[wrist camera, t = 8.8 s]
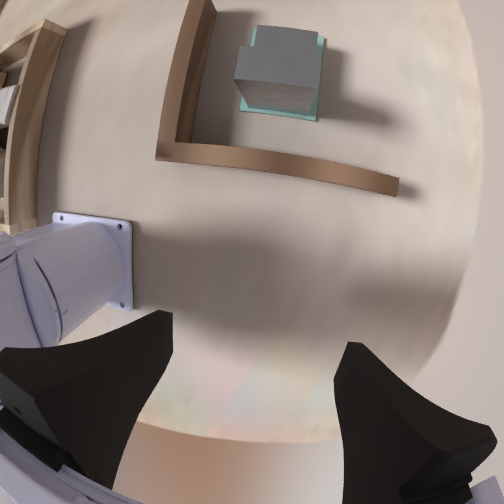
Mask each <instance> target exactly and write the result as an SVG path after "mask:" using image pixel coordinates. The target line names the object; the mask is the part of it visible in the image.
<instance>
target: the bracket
mask: <svg viewBox="0 0 504 504" xmlns="http://www.w3.org/2000/svg"><path fill="white" fill-rule="evenodd" d="M317 39H318V32H314V31H308V30H301V29H294V28H286V27H277V26H265V25H257V30H256V36H255V41H254V46H239V52H238V57H237V62H236V68H235V73H234V81H235V83H236V84H237V86H238V88H239V90H240V92H241V94H242V96H243V98H244V100H245V102H246V104H247V106H248V108H255V109H264V110H272V111H280V112H287V113H294V114H300V115H306V116H307V115H308V112H309V110H310V108H311V105H312V103H313V101H314V98H315V96H316V94H317V91H318V88H319V79H320V69H321V58H322V55H319V54H316V50H317Z"/></svg>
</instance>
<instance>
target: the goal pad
mask: <svg viewBox="0 0 504 504" xmlns="http://www.w3.org/2000/svg"><path fill="white" fill-rule="evenodd" d="M256 30H257V28H253V33H252V39H251V44H250V46H254V41H255V36H256ZM323 43H324V37H323V36H318V39H317V50H316V54H319V55H322V54H323ZM321 65H322V58H321ZM320 76H321V69H320ZM319 85H320V79H319ZM318 94H319V88H318V91H317V94H316V96H315V98H314V101H313V103H312V105H311V108H310V110H309V112H308V115H307V116H306V115H300V114H294V113H287V112H280V111H272V110H264V109H255V108H248V106H247V104H246V102H245V100H244V98H243V96H242V97H241V103H240V110H239V111H245V112H255V113H264V114H272V115H279V116H286V117H293V118H299V119H305V120H311V121H315V120H316V112H317V103H318Z"/></svg>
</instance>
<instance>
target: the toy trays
mask: <svg viewBox="0 0 504 504" xmlns="http://www.w3.org/2000/svg"><path fill="white" fill-rule="evenodd" d="M2 2H3V0H0V5H1V3H2ZM67 31H68V29H66V28H64V27H62V26H60V25H58V24H55V23H53V22H51V21H49V20H47V19H44V20H42V21H41V22H39V23H37V24H35V25H34V26H32V27H30V28H29V29H27V30H26V31H24V32H22V33H21V34H19V35H18V36H16V37H15V38H13V39H12V40H10V41H9V42H8V43H6V44H5V45H3V46H2V47H1V48H0V71H1V70H2V69H4V68H5V67H7V66H9V65H10V64H12V63H14V62H15V61H17V60H19V59H21V58H22V57H24V56H26V55H27V56H26V59H25V62H24V65H23V68H22V71H21V75H20V78H19V82H18V85H19V86H18V89H17V92H16V95H15V98H14V103H13V108H12V113H11V118H10V124H9V131H8V138H7V147H6V158H5V173H4V212H0V231H5V232H6V233H7V234H9V235H10V236H11V235H14V234H17V233H20V232H23V231H26V230H29V229H32V228H35V227H37V213H36V189H37V167H38V155H39V145H40V137H41V130H42V123H43V117H44V112H45V106H46V101H47V97H48V92H49V88H50V84H51V80H52V76H53V73H54V69H55V66H56V62H57V59H58V56H59V53H60V50H61V47H62V44H63V41H64V39H65V36H66V33H67Z"/></svg>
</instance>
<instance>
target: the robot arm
mask: <svg viewBox="0 0 504 504" xmlns="http://www.w3.org/2000/svg"><path fill="white" fill-rule="evenodd" d="M63 218H64V219H63ZM52 221H53V223H50V224H47V225H44V226H40V227H37V228H34V229H31V230H28V231H25V232H22V233H19V234H16V235H13V236H10V235H9V234H7V233H6V232H5V231H0V489H1V490H2V491H3V492H4V493H5V494H6V495H7V496H8V497H9V498H10V499H12V501H14V502H15V503H16V504H143V503H141V502H138V501H135V500H133V499H130V498H128V497H126V496H123V495H121V494H119V493H116V492H114V491H112V487H113V484H114V480H115V477H116V473H117V470H118V467H119V463H120V461H121V458H122V455H123V452H124V449H125V446H126V444H127V441H128V439H129V436H130V434H131V431H132V429H133V427H134V424H135V422H136V420H137V417H138V415H139V413H140V411H141V410H142V408H143V406H144V404H145V403H146V401H147V400H148V398H149V396H150V395H151V393H152V391H153V390H154V388H155V387H156V385H157V383H158V382H159V380H160V378H161V377H162V375H163V373H164V372H165V370H166V367H167V365H168V363H169V361H170V358H171V356H172V353H173V313H171V312H166V311H162V310H157V311H155V312H152V313H150V314H148V315H146V316H144V317H142V318H140V319H138V320H136V321H133V322H131V323H129V324H127V325H125V326H123V327H120V328H118V329H115V330H113V331H110V332H108V333H105V334H103V335H100V336H97V337H94V338H91V339H87V340H84V341H80V342H76V343H71V344H65V345H60V346H58V344H59V342H61V341H62V340H63V339H64V338H65V337H66V336H68V335H69V334H70V333H71V332H72V331H73V330H75V329H76V328H77V327H78V326H79V325H81V324H82V323H83V322H84V321H85V320H87V319H88V318H89V317H90V316H91V315H93V314H94V313H95V312H96V311H97V310H99V309H100V308H101V307H102V306H104V305H108V306H111V307H114V308H118V309H121V310H125V311H131V310H132V309H133V291H132V225H131V223H130V222H129V221H125V220H117V219H110V218H103V217H96V216H88V215H81V214H74V213H66V212H59V211H57V212H54V213H53V216H52ZM120 224H121V225H122V229H121V228H120V226H119V225H120ZM122 303H123V304H124V306H123V304H122ZM334 395H335V403H336V408H337V414H338V419H339V424H340V429H341V435H342V440H343V449H344V487H343V500H342V504H504V497H503V494H502V492H501V489H500V487H499V484H498V482H497V480H496V477H495V476H492V477H490V478H488V479H487V480H484V481H482V482H480V483H478V484H477V485H475V486H473V487H472V488H470V487H469V485H468V483H469V482H471V481H472V476H471V472H472V471H474V470H475V469H476V468H477V467H478V466H479V465H480V464H481V463H482V462H483V461H484V460H485V459H486V458H487V457H488V456H489V455H490V454H491V453H492V452H493V450H494V449H495V447H496V444H497V439H496V437H495V435H494V433H493V431H492V430H491V428H490V427H489V426H487V425H484V424H481V423H477V422H473V421H470V420H467V419H465V418H462V417H460V416H457V415H455V414H453V413H451V412H449V411H447V410H445V409H443V408H441V407H439V406H437V405H436V404H434V403H432V402H430V401H429V400H427V399H426V398H424V397H423V396H421V395H420V394H419V393H417V392H416V391H414V390H413V389H412V388H411V387H409V386H408V385H407V384H406V383H404V382H403V381H402V380H401V379H400V378H399V377H397V376H396V375H395V374H394V373H393V372H392V371H391V370H390V369H389V368H388V367H387V366H386V365H385V364H384V363H383V362H382V361H381V360H380V359H378V358H377V357H376V356H375V355H374V354H373V353H372V352H371V351H370V350H369V349H368V348H367V347H366V346H365V345H364V344H362V343H358V342H348V343H347V346H346V349H345V351H344V354H343V357H342V359H341V362H340V364H339V367H338V369H337V372H336V374H335V376H334Z"/></svg>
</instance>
